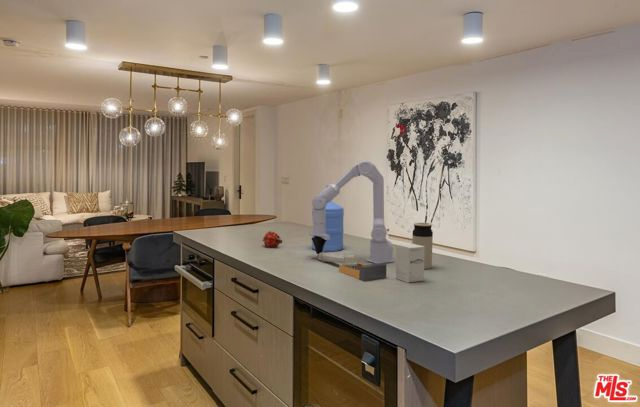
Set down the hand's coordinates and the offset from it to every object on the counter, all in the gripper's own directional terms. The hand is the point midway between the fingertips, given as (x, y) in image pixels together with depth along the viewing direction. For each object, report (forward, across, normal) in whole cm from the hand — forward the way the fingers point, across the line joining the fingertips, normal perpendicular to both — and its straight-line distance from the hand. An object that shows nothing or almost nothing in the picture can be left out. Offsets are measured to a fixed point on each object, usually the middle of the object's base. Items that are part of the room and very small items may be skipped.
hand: (319, 253), depth 193 cm
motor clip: (+2, +32, 0) cm, 32 cm away
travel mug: (+3, +34, +29) cm, 45 cm away
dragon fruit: (+3, -37, -6) cm, 38 cm away
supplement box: (+3, +47, +11) cm, 48 cm away
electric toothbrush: (+3, +15, 0) cm, 15 cm away
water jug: (+3, -19, +16) cm, 25 cm away
